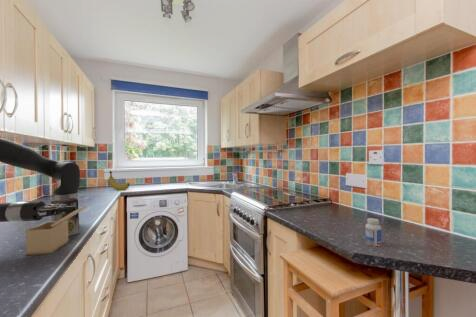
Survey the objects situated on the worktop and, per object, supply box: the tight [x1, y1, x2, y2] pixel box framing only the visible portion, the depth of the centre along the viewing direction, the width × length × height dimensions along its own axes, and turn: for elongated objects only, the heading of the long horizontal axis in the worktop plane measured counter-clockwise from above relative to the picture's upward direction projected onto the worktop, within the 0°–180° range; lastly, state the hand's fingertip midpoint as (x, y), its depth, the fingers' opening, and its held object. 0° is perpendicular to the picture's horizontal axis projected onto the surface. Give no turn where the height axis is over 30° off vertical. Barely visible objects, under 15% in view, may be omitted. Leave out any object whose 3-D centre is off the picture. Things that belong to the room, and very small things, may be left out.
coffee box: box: [50, 198, 80, 237], centre depth 100 cm, size 9×6×16 cm
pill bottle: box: [364, 217, 383, 247], centre depth 87 cm, size 6×5×10 cm
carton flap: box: [51, 205, 88, 227], centre depth 87 cm, size 10×1×9 cm
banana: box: [107, 170, 130, 191], centre depth 226 cm, size 23×6×20 cm, turn 83°
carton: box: [25, 221, 70, 256], centre depth 86 cm, size 11×8×9 cm
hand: (76, 208), depth 87 cm, fingers closed
